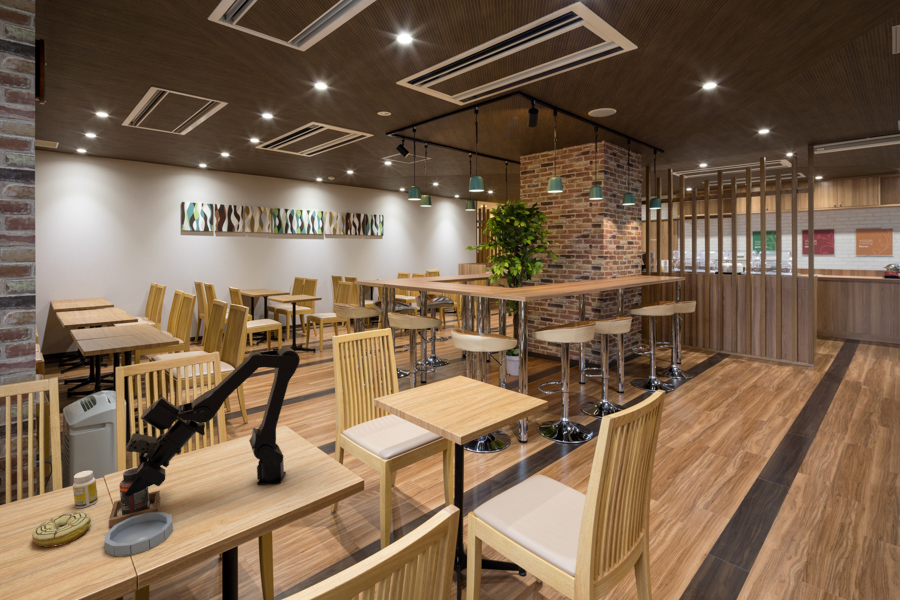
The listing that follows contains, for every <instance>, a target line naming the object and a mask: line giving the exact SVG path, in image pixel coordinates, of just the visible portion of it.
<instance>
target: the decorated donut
mask: <svg viewBox="0 0 900 600" xmlns="http://www.w3.org/2000/svg"><path fill="white" fill-rule="evenodd" d="M91 522H92V519H91V514H90V513H88V512H83V511H82V512H81V511H79V512H77V511H75V512H68V513H63V514H61V515H58V516H55V517H51V518H50V519H47V520H45V521H43V522H41V523H40V524H39V525H38V526H37V527H36V528H35V529H34V531H33V532H32V533H31V536H32V540H33V542H34V543H35V544H36V545H37V546H38V547H41V546H52V547H56V546H55V545H58V546H61V545H60V544H62V545H65V544H67V542H68V543H70V542H71V541H74V540H77V539H78V538H80V537H81V536H82V535H83V534H84V533H85V532H87V530H88V529H89V527H90V525H91ZM69 541H70V542H69ZM64 543H65V544H64Z"/></svg>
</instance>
